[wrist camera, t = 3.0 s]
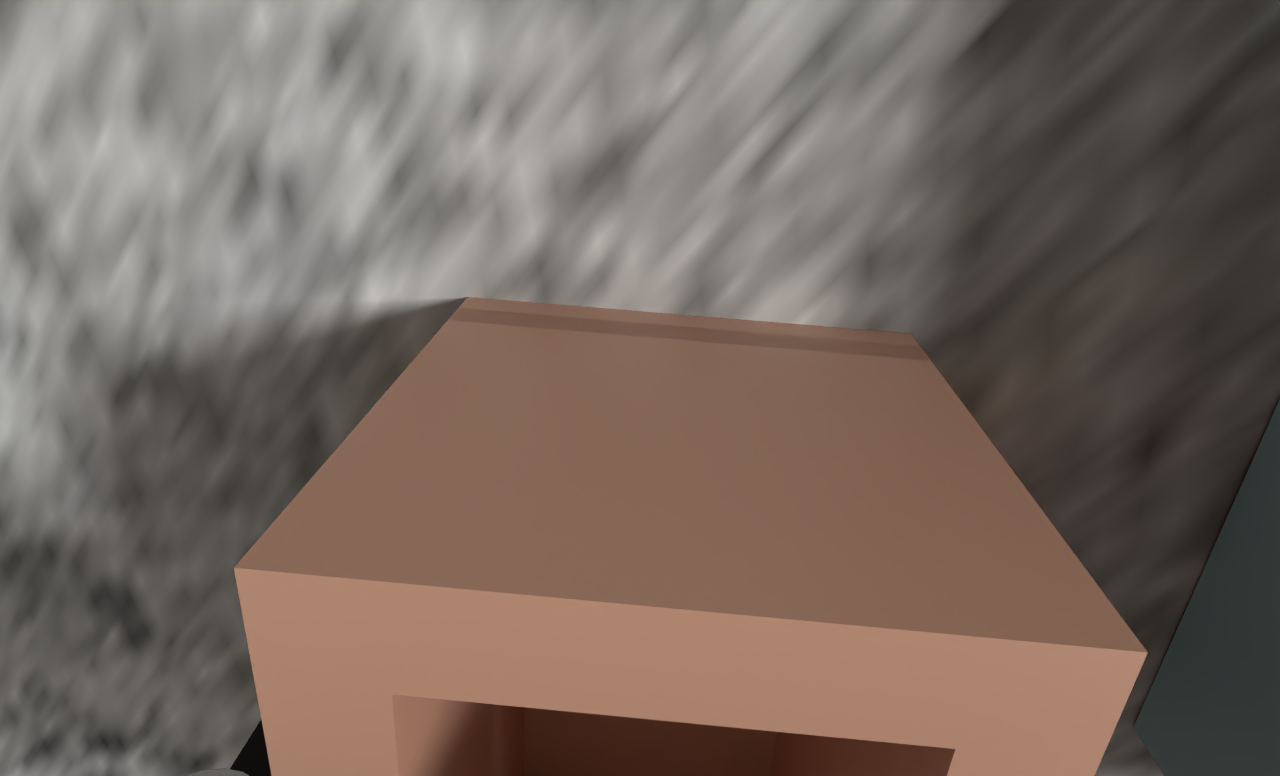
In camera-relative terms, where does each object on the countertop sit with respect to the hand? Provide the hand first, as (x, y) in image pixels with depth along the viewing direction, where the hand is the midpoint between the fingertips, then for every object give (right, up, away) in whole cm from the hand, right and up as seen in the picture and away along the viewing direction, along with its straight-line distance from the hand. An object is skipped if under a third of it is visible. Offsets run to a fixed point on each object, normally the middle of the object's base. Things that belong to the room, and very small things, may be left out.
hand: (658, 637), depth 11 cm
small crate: (0, +1, +1) cm, 1 cm away
